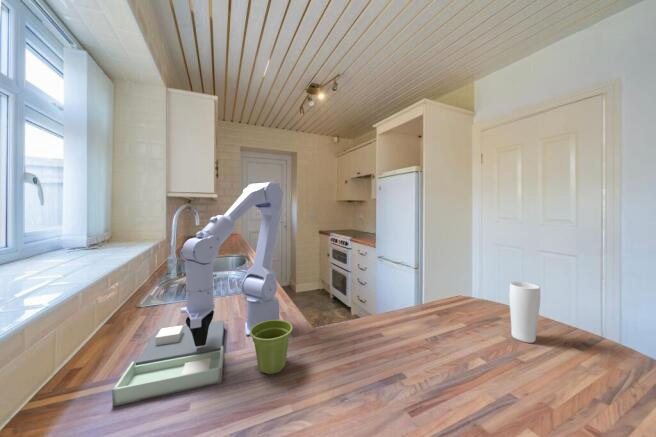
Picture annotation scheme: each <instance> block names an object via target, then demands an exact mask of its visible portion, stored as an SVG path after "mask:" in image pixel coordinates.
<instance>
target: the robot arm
mask: <svg viewBox="0 0 656 437" xmlns="http://www.w3.org/2000/svg"><path fill="white" fill-rule="evenodd" d="M283 197H284V192H283V190H282V188H281V186H280V184H279V183H278V182H276V181H269V182H267V181H266V182H259V183H255V182H253V183H249V184H248V185H247V187H245V188H243V190H242V193H241V195H240V196H238V198H237V199H236V201H235V202H234V203H233V204H232V205H231V206H230V207H229V208H228V210H227V211H226V212H225V213H224V214H217V215H216V216H212V217H210V219H209V223H207V225H206V226H205V227H204V228H202V230H199V231H197V232H196V233H195V237H192V238H189V239H187V240H186V241H185V242H184V244H183V246H182V248H181V250H179V253H180V256H181V258H182V259H183V260H184V261H185V285H186V286H185V290H186V291H185V294H186V296H185V297H186V300H185V301H186V304H185V305H186V306H183V307H181V309H180V314H186V316H187V317H186V318H185V324H186V325H187V326H188V327H189V329H190V331H191V333H192V336H193V340H194V343H195V346H196V347H198V346H204V345H205V344H206V340H207V335H208V329H209V325H210V323H211V322H213V321H212V320H213V319H214V314H215V311H214V310H215V302H214V260H215V259H217V258H218V255H219V251H220V247H221V245H223V244H224V242H225V241H226V240H227V239H228V238H229V237H230V236H231V235H232V233H234V231H235V229H236V225H235V223H237V222H238V221H239V220H240V219H241V218H242V217H243V216H244V215H245V214H246V213H247V212H248V211H249V210H250V209H251V208H253V207H254V208H256V209H257V210H258V211H259V212H260V213H261V215H262V217H261V218H262V219H261V223H260V229H259V233H258V239H257V244H256V248H255V254H254V259H253V265H251V267H249V268H248V269H247V270H246V271H245V273H246V274H245V276H244V278H243V280H242V282H241V285H240V289H241V293H242V294H243V295H245V299H246V322H245V323H244V325H245V326H244V328H245V336H251V335H250V330H251V328H252V327H253V326H255V325H256V324H258V323H261V322H264V321H268V320H280V302H279V297H278V296H275V295H276V294H277V289H278V283H277V278H278V274H277V273H276V271H275V270H274V269H273V268H272V267H273V266H272V265H273V260H274V255H275V250H276V243H277V239H278V232H279V227H280V223H281V216H282V202H283V199H284V198H283ZM186 325H185V326H186Z"/></svg>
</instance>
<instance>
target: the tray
mask: <svg viewBox="0 0 656 437" xmlns="http://www.w3.org/2000/svg"><path fill="white" fill-rule="evenodd" d="M209 358H211V369H207V370H202V371H197V372H192V373H187V374H182V371H183V368H184V365H185V363H188V362H193V361H198V360H203V359H209ZM223 365H224V345H222V346H221V350H219V351H214V352H208V353H203V354H197V355H192V356H186V357H181V358H175V359H170V360H164V361H158V362H153V363H147V364H142V365H136V361H135V360H134V361H131V362H130V364H129V366H128V367H127V368H126V370H125V371H124V372H123V374H122V376H121V377H120V378H119V380H118V381H117V383H116V384H115V386H114V387H113V389H111V390H112V392H111V394H112V407H116V406H120V405H121V406H122V405H126V404H130V403H135V402H138V401H143V400H147V399H153V398H157V397H162V396H165V395H170V394H175V393H180V392H184V391H185V392H186V391H188V390H193V389H198V388H201V387H202V388H203V387H207V386H212V385H216V384H221V383H222V380H223V379H222V378H223V367H224V366H223ZM181 374H182V375H181Z"/></svg>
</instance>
